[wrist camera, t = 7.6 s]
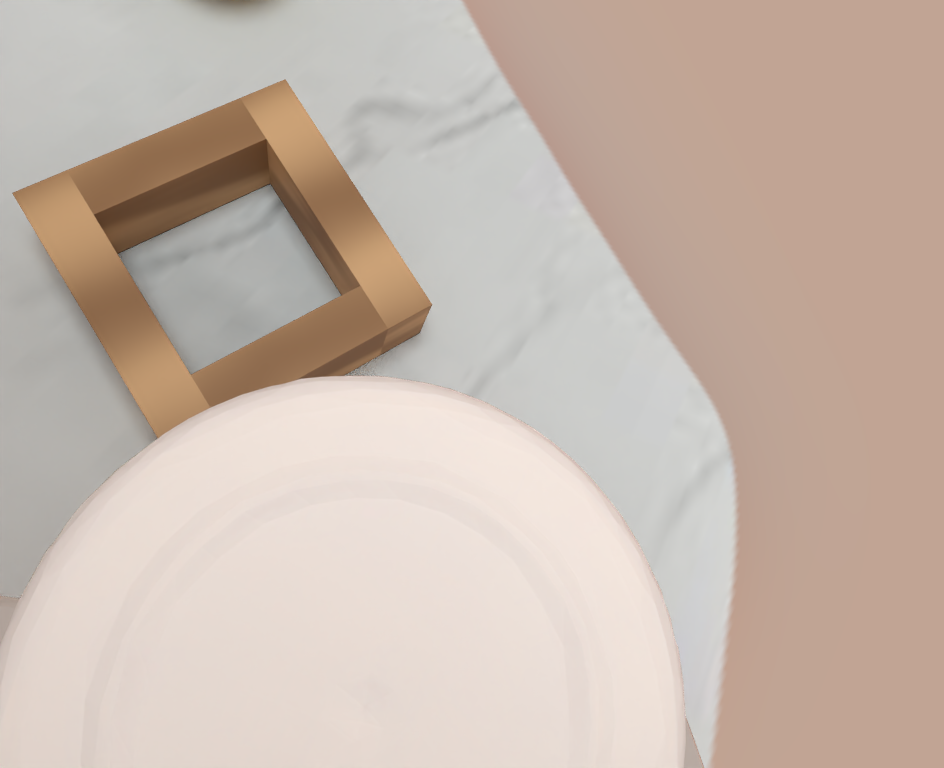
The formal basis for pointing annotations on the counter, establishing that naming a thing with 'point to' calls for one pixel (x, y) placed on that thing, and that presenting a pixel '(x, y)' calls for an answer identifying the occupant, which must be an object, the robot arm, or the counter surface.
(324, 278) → the counter surface
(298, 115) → the frame
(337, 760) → the sprinkles bottle
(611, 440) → the counter surface
